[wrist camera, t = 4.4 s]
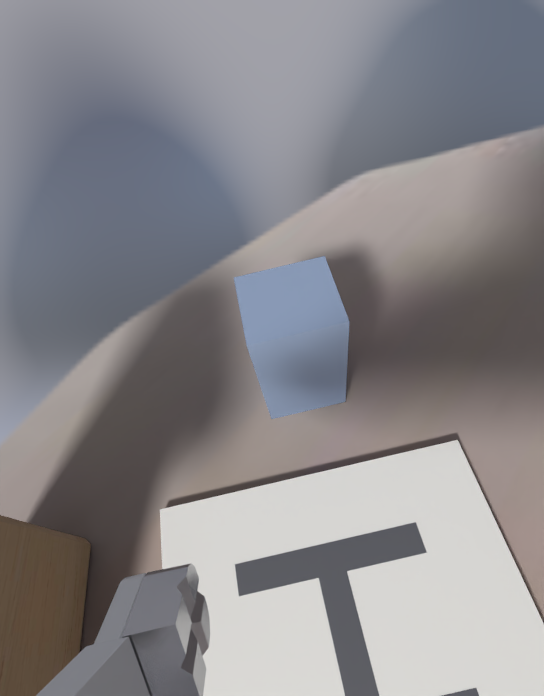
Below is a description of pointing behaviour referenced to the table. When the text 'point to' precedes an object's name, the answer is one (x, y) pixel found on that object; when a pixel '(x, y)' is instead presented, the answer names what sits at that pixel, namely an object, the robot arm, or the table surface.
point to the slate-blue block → (295, 335)
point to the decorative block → (39, 604)
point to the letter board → (360, 584)
